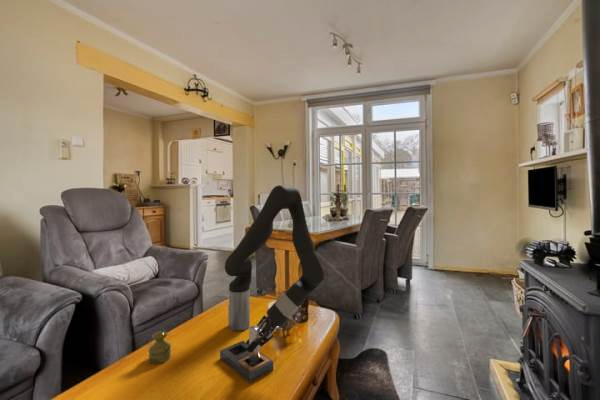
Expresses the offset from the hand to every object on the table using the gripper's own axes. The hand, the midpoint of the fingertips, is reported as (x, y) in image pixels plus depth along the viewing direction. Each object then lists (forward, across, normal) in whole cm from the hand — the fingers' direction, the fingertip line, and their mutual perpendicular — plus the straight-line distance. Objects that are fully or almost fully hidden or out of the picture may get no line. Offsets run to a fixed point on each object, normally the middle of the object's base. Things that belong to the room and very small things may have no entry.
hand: (248, 347), depth 98 cm
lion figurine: (-6, -24, +18) cm, 30 cm away
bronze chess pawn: (+28, -14, -17) cm, 36 cm away
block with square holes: (+6, -4, +5) cm, 9 cm away
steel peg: (+2, 0, +5) cm, 6 cm away
